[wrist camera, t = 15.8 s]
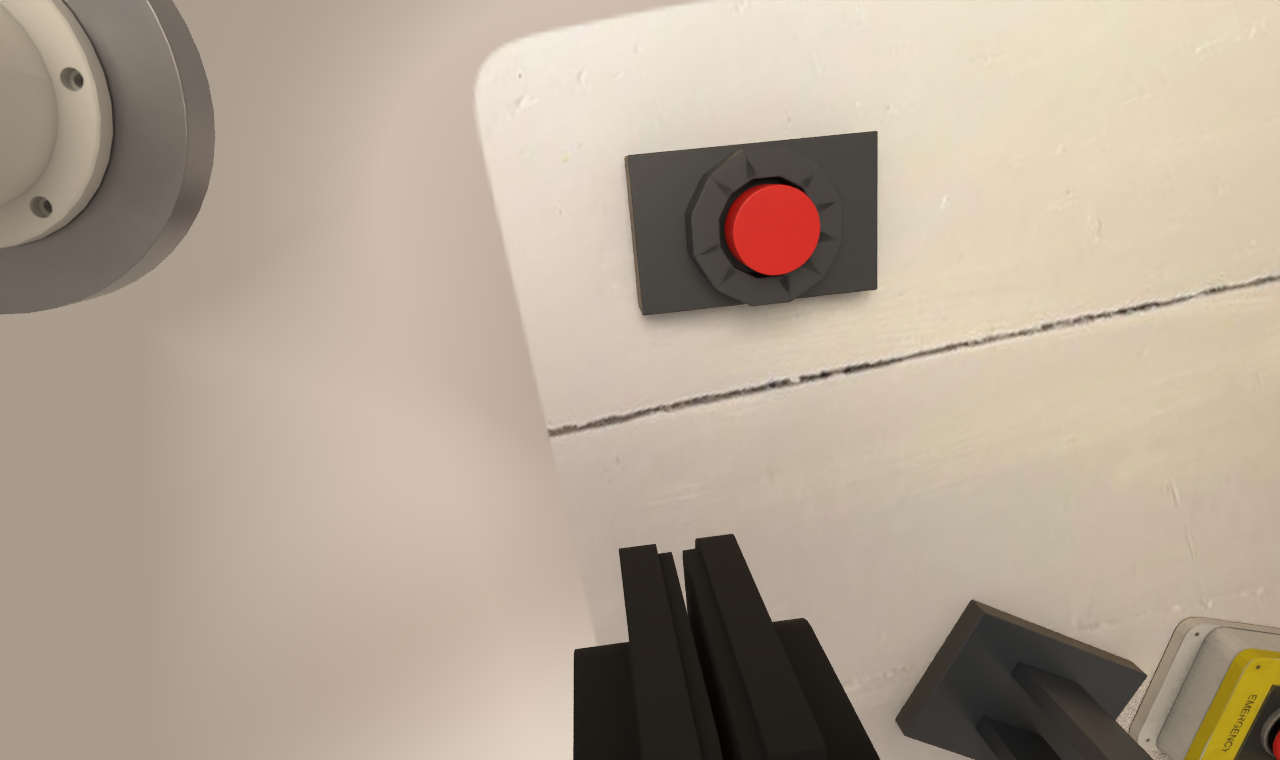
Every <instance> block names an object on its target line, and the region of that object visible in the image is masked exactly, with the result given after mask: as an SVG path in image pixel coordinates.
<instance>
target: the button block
mask: <svg viewBox="0 0 1280 760" xmlns="http://www.w3.org/2000/svg"><path fill="white" fill-rule="evenodd" d="M625 169H626V179H627V189H628V200H629V210H630V220H631V231H632V241H633V252H634V262H635V272H636V283H637V293H638V304H639V308H640V310H641V312H642V314H643V315H651V314H660V313H670V312H679V311H688V310H697V309H706V308H715V307H724V306H733V305H742V304H748V305H750V306H758V305H767V304H776V303H785V302H790V301H792V300H794V299H796V298H805V297H814V296H823V295H832V294H841V293H850V292H859V291H868V290H876V289H877V131H871V132H861V133H851V134H841V135H831V136H820V137H810V138H800V139H790V140H779V141H769V142H759V143H749V144H738V145H728V146H718V147H708V148H698V149H687V150H677V151H667V152H657V153H646V154H636V155H628V156H625ZM762 184H780V185H788V186H792V187H794V188H797V189H799V190H800V191H802V192H803V193H805V194H806V195H807V196H808V197H809V198H810V199H811V201H812V202H813V203H814V205H815V207H816V209H817V212H818V215H819V219H820V235H819V240H818V243H817V246H816V248H815V250H814V252H813V253H812V255H811V256H810V257H809V259H808V260H807V261H806V262H805V263H804V264H803V265H801V266H800V267H799V268H797V269H796V270H794V271H791V272H789V273H786V274H782V275H766V274H761V273H759V272H756V271H755V270H753V269H751V268H749V267H747V266H745V265H744V264H742V263H741V262H739V261H738V260H737V259H736V258H735V257H734V256H733V254H732V253H731V251H730V249H729V247H728V245H727V242H726V238H725V221H726V217H727V214H728V211H729V209H730V207H731V205H732V204H733V202H734V201H735V200H736V199H737V198H738V197H739V196H740V195H741V194H742V193H743V192H745V191H746V190H748V189H750V188H752V187H754V186H758V185H762Z"/></svg>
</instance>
